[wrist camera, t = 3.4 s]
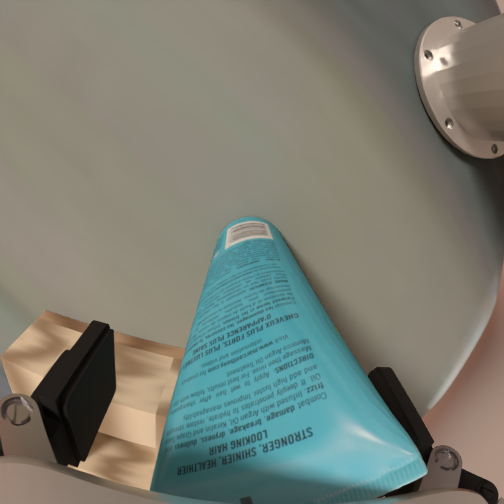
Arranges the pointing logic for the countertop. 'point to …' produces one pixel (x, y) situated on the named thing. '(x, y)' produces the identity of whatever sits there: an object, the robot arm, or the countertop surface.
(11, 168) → the countertop surface
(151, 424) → the socket block
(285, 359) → the tube
